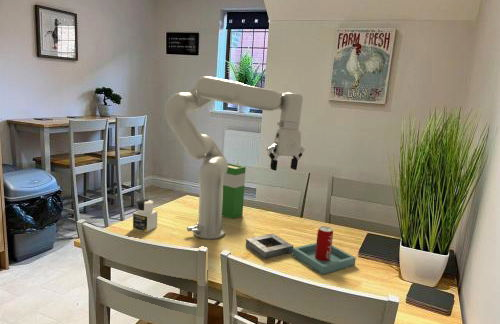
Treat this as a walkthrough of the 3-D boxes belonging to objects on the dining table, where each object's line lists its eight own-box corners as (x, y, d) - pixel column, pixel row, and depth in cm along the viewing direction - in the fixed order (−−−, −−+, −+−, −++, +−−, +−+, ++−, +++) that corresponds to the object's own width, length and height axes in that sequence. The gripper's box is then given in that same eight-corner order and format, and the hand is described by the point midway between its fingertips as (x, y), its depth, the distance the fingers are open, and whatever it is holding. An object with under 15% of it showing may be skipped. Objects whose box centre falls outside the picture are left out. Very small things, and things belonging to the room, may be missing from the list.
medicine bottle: (132, 229, 149) (132, 201, 147) (143, 223, 156) (144, 197, 153) (146, 232, 147) (147, 204, 144) (157, 227, 153) (157, 199, 151)
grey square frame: (264, 259, 130) (265, 252, 129) (245, 245, 140) (246, 238, 140) (292, 253, 137) (293, 245, 136) (272, 240, 147) (273, 233, 147)
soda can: (327, 263, 128) (331, 232, 126) (312, 259, 131) (316, 228, 129) (332, 258, 133) (335, 227, 131) (317, 254, 136) (321, 223, 134)
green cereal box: (205, 209, 179) (207, 162, 174) (215, 206, 185) (217, 160, 180) (232, 219, 169) (235, 169, 164) (242, 215, 175) (245, 166, 170)
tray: (322, 275, 121) (323, 266, 121) (292, 255, 134) (292, 248, 134) (354, 265, 130) (355, 257, 129) (323, 248, 143) (324, 240, 142)
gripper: (276, 126, 130) (270, 172, 133) (312, 128, 139) (306, 171, 142) (264, 123, 136) (259, 167, 139) (300, 125, 145) (295, 166, 148)
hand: (283, 169), depth 141 cm, fingers open, 9 cm apart
